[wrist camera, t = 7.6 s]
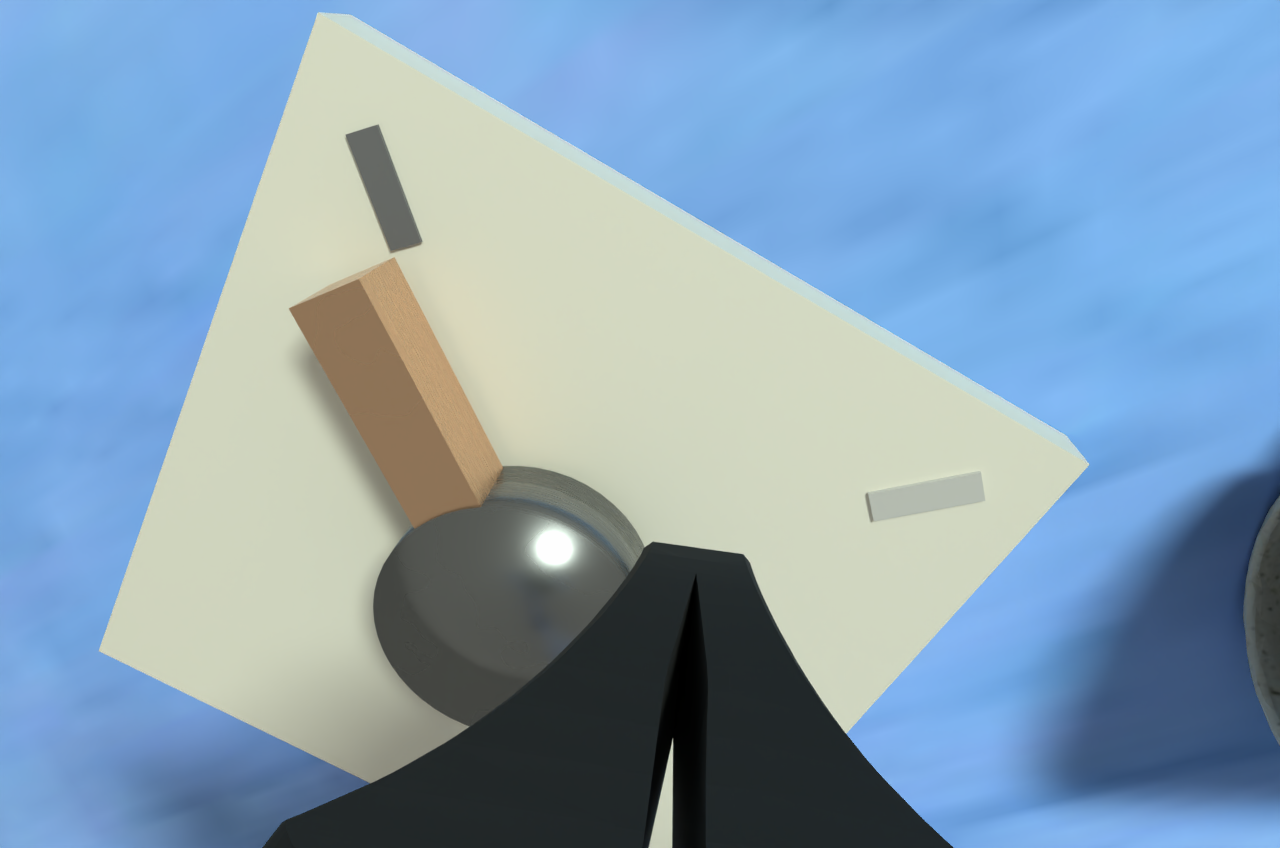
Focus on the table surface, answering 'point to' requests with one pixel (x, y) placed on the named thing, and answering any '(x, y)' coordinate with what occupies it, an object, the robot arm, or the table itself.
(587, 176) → the base
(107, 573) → the table surface
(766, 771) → the robot arm
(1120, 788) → the table surface
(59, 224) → the table surface
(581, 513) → the twist handle
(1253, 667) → the ceramic mug
